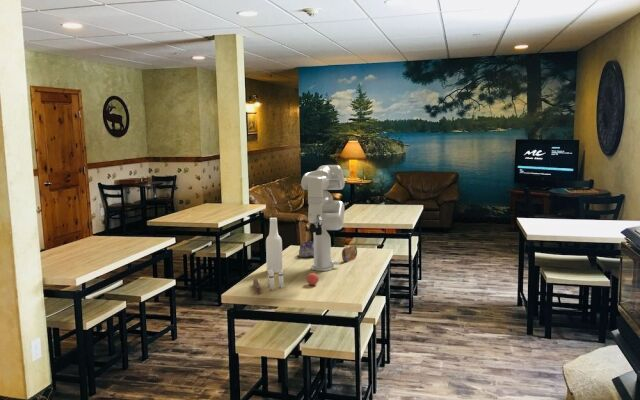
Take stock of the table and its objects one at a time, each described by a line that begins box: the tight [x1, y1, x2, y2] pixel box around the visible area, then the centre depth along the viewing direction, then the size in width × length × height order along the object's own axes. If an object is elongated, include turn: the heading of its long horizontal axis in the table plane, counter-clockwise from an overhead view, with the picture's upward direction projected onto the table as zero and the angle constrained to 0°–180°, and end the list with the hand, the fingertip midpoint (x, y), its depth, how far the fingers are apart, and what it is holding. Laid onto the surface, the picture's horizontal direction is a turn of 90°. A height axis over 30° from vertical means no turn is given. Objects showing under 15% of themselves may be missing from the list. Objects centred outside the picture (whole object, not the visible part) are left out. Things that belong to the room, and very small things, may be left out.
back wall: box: [252, 278, 262, 295], centre depth 264 cm, size 2×16×3 cm, turn 13°
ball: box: [306, 272, 319, 286], centre depth 270 cm, size 6×6×6 cm
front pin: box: [277, 270, 285, 289], centre depth 266 cm, size 2×2×8 cm
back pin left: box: [268, 272, 275, 291], centre depth 262 cm, size 2×2×8 cm
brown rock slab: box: [341, 244, 358, 263], centre depth 320 cm, size 15×3×8 cm, turn 148°
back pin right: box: [267, 270, 273, 288], centre depth 267 cm, size 2×2×8 cm
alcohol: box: [265, 217, 284, 274], centre depth 295 cm, size 9×9×30 cm
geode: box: [298, 240, 314, 258], centre depth 335 cm, size 20×12×10 cm, turn 163°
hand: (315, 233), depth 276 cm, fingers open, 9 cm apart
